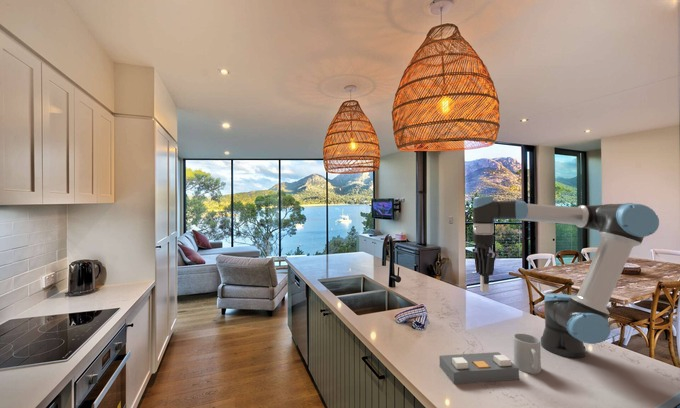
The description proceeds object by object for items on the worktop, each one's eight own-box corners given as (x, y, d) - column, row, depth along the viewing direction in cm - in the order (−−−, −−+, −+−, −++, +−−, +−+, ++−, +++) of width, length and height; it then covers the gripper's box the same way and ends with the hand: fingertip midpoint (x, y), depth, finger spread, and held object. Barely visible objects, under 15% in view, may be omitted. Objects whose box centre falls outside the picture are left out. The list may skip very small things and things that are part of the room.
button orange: (483, 369, 102) (483, 360, 102) (489, 375, 99) (489, 366, 99) (473, 370, 102) (473, 361, 102) (479, 376, 98) (478, 367, 98)
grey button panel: (498, 362, 109) (498, 346, 109) (519, 379, 98) (518, 361, 98) (439, 366, 107) (439, 349, 107) (453, 384, 96) (453, 365, 96)
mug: (510, 360, 111) (509, 332, 111) (534, 362, 109) (533, 334, 109) (523, 378, 99) (523, 347, 99) (550, 381, 97) (550, 349, 97)
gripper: (466, 232, 121) (467, 287, 120) (484, 235, 108) (485, 296, 108) (482, 232, 122) (483, 286, 121) (502, 235, 109) (503, 295, 108)
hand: (484, 291), depth 114 cm, fingers closed
